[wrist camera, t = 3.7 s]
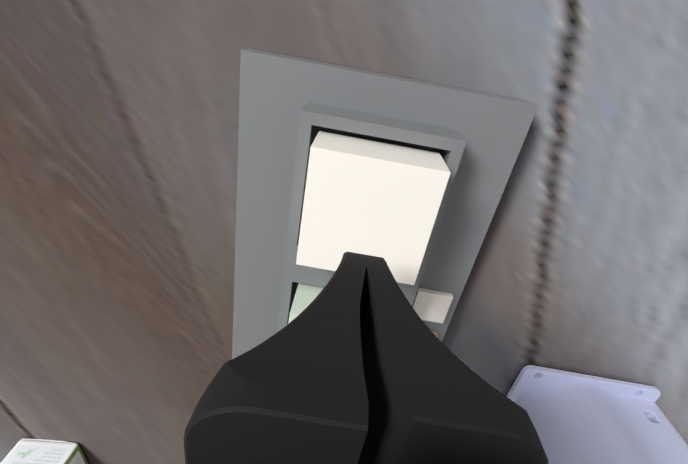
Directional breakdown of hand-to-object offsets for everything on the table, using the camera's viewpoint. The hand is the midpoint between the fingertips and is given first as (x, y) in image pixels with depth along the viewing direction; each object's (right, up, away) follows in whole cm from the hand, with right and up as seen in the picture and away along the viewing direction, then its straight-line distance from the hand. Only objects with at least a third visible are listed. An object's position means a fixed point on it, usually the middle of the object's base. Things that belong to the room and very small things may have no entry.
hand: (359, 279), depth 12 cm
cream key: (+1, +3, +4) cm, 6 cm away
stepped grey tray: (-1, -2, +11) cm, 11 cm away
